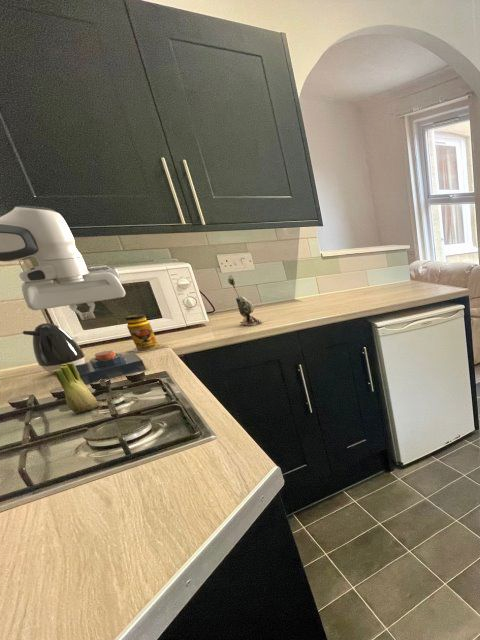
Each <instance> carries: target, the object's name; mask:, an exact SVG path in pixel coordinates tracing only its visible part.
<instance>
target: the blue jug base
mask: <svg viewBox="0 0 480 640" xmlns="http://www.w3.org/2000/svg"><path fill="white" fill-rule="evenodd" d="M114 353H115V355H116V356H115V357H113V358H110V359H105V360H96V358H95V357H93V358H91V359H89V362H86V363H85V362H84V364H81V365H76V366H75V367H76V369H77V373H78V375H79V377H80V379H81V380H82V381H83V383H84V384H85V385H86V386H87V385H91V384H94V383H93V382H95V383H98V382H97V381H99V380H100V379H107V380H110V379H114V378H118V377H122V376H127V375H130V374H134V373H139V372H143V371H147V368H146V365H145V363H144V361H143V360H142V359H141V357H140V356H138V354H136V353H135V352H130V353H126V354H123V353H121V352H114ZM99 382H100V381H99Z"/></svg>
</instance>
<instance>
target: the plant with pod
mask: <svg viewBox="0 0 480 640" xmlns="http://www.w3.org/2000/svg"><path fill="white" fill-rule="evenodd" d="M227 282H228V284H229V285H231V286H232V287H233V289H234V291H235V293H236V295H237V297H235V300H236V305H237V308H238V311H239V314H240V316H242V317H243V318H242V321H240V322H239V325H240V326H241V325H242V326H250V327H251V326H256V325H259V324H262V320H261V319H258V318H256V317H255V316H253V315H251V314H252V313H253V312H254V309H255V307H254V304H253V303H252V302H251V301H250V300H249V299H248V298H246V297H245V296H242V295H239V293H238V291H237V289H236V286H235V285H236V282H235V279H234V276H233V275H231V274H230V275H228V278H227Z"/></svg>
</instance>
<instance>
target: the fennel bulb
mask: <svg viewBox="0 0 480 640" xmlns="http://www.w3.org/2000/svg"><path fill="white" fill-rule="evenodd" d="M60 368H61V370H62V371H61V370H60V369H58V370H54V373H55V374H54V373H53V374H54V375H55V377H56V378H57V380H58V382H59V384H60V386H61V388H62V390H63V393H64V396H65V401H66V405H67V407H68V408H69V410H70V411H71V412H73V413H74V414H75V413H76V414H79V413H84V412H88V411H91V410H94V409H95V408H97V407H98V405H99V401H98V400H97V399H96V397H95V395H94V394H93V393H92V392H91V391H90V389H89V388H88V386H87V385H85V384H84V383H83V381H82V379H81V377H80V375H79V373H78V371H77V370H76V368H75V365H74V363H67V364H62V365H61V367H60Z"/></svg>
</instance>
